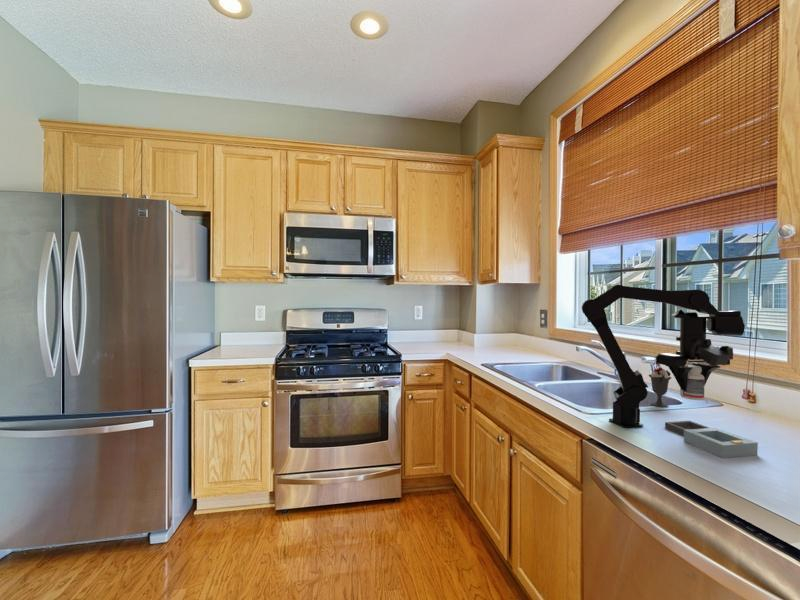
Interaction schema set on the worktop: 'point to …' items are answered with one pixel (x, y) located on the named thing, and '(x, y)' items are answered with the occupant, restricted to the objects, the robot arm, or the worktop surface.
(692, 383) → the pill bottle
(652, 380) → the sundae
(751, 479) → the worktop surface
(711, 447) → the tray
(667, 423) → the dark brown square tray
